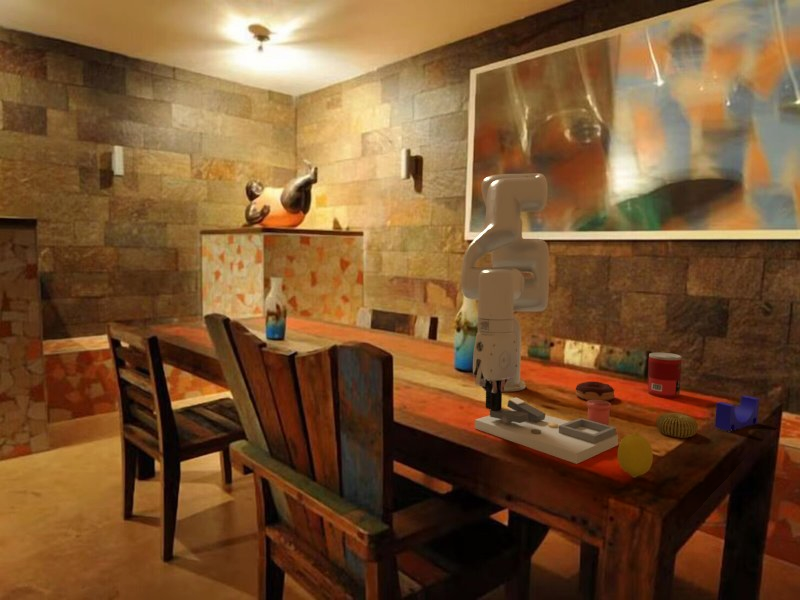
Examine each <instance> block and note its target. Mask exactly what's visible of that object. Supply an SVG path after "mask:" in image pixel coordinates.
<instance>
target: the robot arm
mask: <svg viewBox="0 0 800 600" xmlns="http://www.w3.org/2000/svg"><path fill="white" fill-rule="evenodd" d="M548 187H549V186H548V182H547V178H546V176H545V175H544V174H543V173H537V172H536V173H501V174H493V175H492V174H491V175H489V176H487V177H485V178H484V179H483V180H482V182H481V194H482V199H483V203H484V205H485V207H486V208H485V217H484V230H483V231H481V232H480V233H479V234H478V235H477V236H476V237H475V238H474V239H473V240H472V241H471V242H470V243H469V245H468V247H467V248H466V250H465V251H464V254H463V260H462V265H461V266H462V267H461V274H460V289H461V293H462V294H463V296H464V297H465V298H467V299H468V300H477V303H478V304H477V306H478V307H477V323H476V328H477V332H476V334H475V335H476V336H475V341H474V347H473V357H472V358H473V359H472V373H473V376H474V378H475V386H479V387H482V388H483V391H484V392H485V409H487V410H489V411H490V410H494V411H498V410H501V409H503V408H502V405H503V403H502V402H503V392H508V393H509V392H518V391H523V390H525V388H526V382H525V381H523V380H521V361H522V360H521V359H522V357H521V356H522V355H521V354H522V353H521V351H522V350H521V349H522V326H521V323H520V321H519V320H518V319H517V317H516V316H515V315H514V312H542V311H543V312H544V311H545V310H546V309H547V307H548V303H549V290H550V289H549V285H550V251H549V246H548V244H547V242H546V241H545V240H543V239H539V238H523V220H522V218H521V215H522V214H521V213H524V212H525V213H526V212H529V213H530V212H531V213H532V212H533V213H534V212H537V213H538V212H541V211H543V210H544V209H545V207H546V205H547V202H548V197H549V196H548ZM489 253H490V259H491V266H476V263H478V261H479V260H480V259H481V258H482V257H483V256H485V255H486V254H489ZM522 273H527V274H531V275H532V277H524V275H523V274H522Z"/></svg>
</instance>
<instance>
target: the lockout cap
mask: <svg viewBox="0 0 800 600" xmlns="http://www.w3.org/2000/svg"><path fill="white" fill-rule="evenodd" d="M586 407H587V419H586V420H590V421H594V422H597V423H601V424H605V425H608V426H610V410H611V409H612V403H611V402H609V401H602V400H586Z"/></svg>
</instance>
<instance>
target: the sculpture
mask: <svg viewBox="0 0 800 600" xmlns="http://www.w3.org/2000/svg"><path fill="white" fill-rule="evenodd" d="M655 424H656V428H657V430H658V431H659V432H660V433H662V434H664V435H665V436H668V437H673V438H678V439H679V438H680V439H681V438H682V439H688V438H692V437H694V436H695V435H696V434H697V432H698V431H699V424H698V423H697V421H696V420H695V419H694V418H693V417H692V416H690V415H688V414H684V413H680V412H665V413H662V414H659V416H658V417H657V418H656V422H655Z"/></svg>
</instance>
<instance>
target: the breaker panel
mask: <svg viewBox="0 0 800 600" xmlns="http://www.w3.org/2000/svg"><path fill="white" fill-rule="evenodd" d="M508 410H512V411H515V410H513V409H511V408H510V409H508ZM474 429H476V430H478V431H481V432H484V433H487V434H490V435H492V436H496V437H499V438H501V439H504V440H506V441H510V442H512V443H515V444H518V445H521V446H524V447H527V448H530V449H532V450H536V451H537V452H541V453H543V454H544V453H545V454H547V455H550V456H553V457H556V458H559V459H561V460H564V461H567V462H570V463H573V464H576V465H578V464H579V463H581V462H584V461H586V460H588V459H591V458H592V457H595V456H596V455H599V454H602V453H604V452H606V451H608V450H610V449H612V448H614V447H617V446H619V434H617V427H615V426H612V425H609V426H608V425H605V424H601V423H597V422H594V421H590V420H587V419H586V418H582V417H579V418H576V419H574V420H570V421H568V420H565V419H561V418H558V417H554V416H550V415H547V414H546V415H545V419H544V420H541V421H538V422H535V421H533V420H531V419H529V420H528V421H525V422H522V423H517V422H511V423H508V424H503V423H502V421H501V419H498V418H494V417H490V414H489V415H487V416H483V417H480V418H476V419H474Z"/></svg>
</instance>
